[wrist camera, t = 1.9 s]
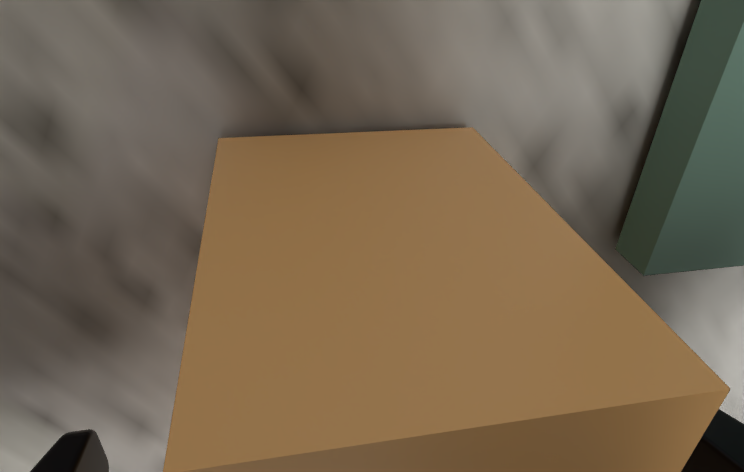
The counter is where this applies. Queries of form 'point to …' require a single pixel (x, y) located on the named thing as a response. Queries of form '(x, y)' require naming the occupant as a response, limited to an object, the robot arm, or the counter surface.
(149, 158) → the counter surface
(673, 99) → the board
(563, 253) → the block
